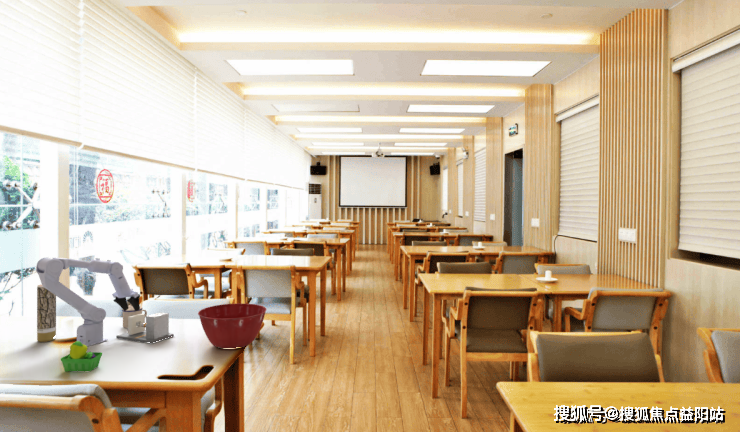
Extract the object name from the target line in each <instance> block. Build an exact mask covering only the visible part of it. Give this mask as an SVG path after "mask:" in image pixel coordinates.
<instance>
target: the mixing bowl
mask: <svg viewBox="0 0 740 432" xmlns="http://www.w3.org/2000/svg"><path fill="white" fill-rule="evenodd" d="M266 312H267V308H266V307H265V306H263V305H260V304H254V303H242V302H241V303H223V304H218V305H217V304H215V305H212V306H207V307H204V308H202V309H201V310H199V311H198V312H197V315H198V316H199V321H200V323H201V327H202V330H203V332H204V335H205V336H206V338H207V339H208V341H209V343H210V344H211V345H212V346H214V347H216V348H217V347H219V348H236V347H243V348H246V347H248V346H249V345H250V344H251V343H253V341H255V340H256V338H257V336H258V335H259V332H260V330H261V327H262V326H263V321H264V318H265V315H266ZM245 346H246V347H245ZM219 348H218V349H219Z"/></svg>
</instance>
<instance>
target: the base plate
mask: <svg viewBox="0 0 740 432" xmlns="http://www.w3.org/2000/svg"><path fill="white" fill-rule="evenodd" d="M171 336H174V333H171V332H169V335H167V336H164V337H161V338H158V339H155V340H153V339H147V338H146V329H145V331H143V332H139V333H136V334H133V335H130V334H128V332H125V333H121V334H116V339H119V340H125V341H131V342H137V341H140V342H139V343H144V342H150V343H153V342H156V341H159V340H162V339H165V338H168V337H171ZM171 338H172V337H171ZM168 339H169V338H168ZM165 340H166V339H165ZM162 341H163V340H162ZM159 342H160V341H159ZM150 343H149V344H150ZM156 343H157V342H156ZM153 344H154V343H153Z"/></svg>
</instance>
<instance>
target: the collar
mask: <svg viewBox="0 0 740 432" xmlns="http://www.w3.org/2000/svg"><path fill="white" fill-rule="evenodd" d="M136 322H141V323H146V317H145V313H142V314H138V315H134V316H130V317H128V328H127V333H128V334H130V335H133V334H136V333H139V332H143V331H145V330H146V327H140V326H136Z"/></svg>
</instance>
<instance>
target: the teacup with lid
mask: <svg viewBox="0 0 740 432" xmlns="http://www.w3.org/2000/svg"><path fill="white" fill-rule="evenodd" d="M128 307H129V308H128V309H127V310H126V311H124V310H123V309H122V328H124V329H125V328H126V329H128V317H130V316H134V315H138V314H143V312H144V314H145V318H146V316H148V311H147V310H146V309H143V306H140V309H139V310H138V311H135V310H134V308H133V306H132V305H131V304H130V303H129V305H128Z"/></svg>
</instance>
